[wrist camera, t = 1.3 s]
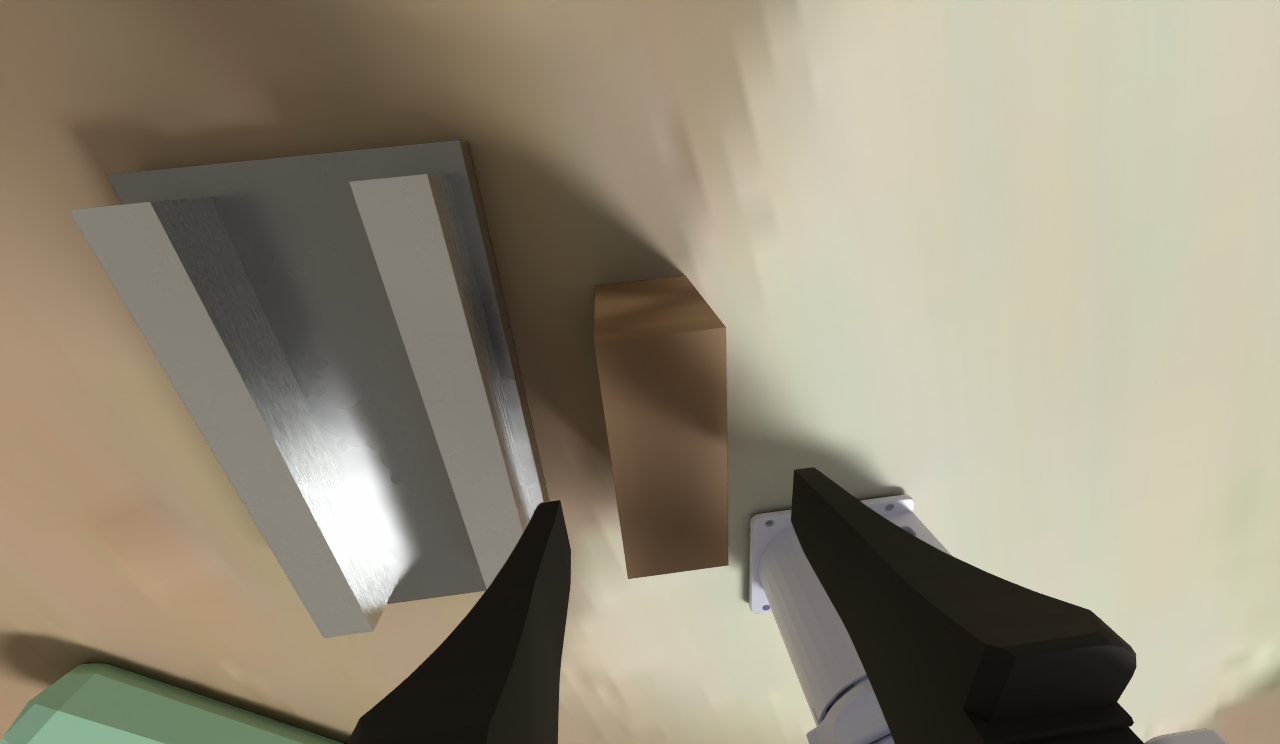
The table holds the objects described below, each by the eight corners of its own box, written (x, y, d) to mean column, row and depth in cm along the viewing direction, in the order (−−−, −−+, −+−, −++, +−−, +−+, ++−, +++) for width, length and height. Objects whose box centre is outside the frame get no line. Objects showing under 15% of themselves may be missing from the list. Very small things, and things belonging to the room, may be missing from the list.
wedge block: (685, 275, 20) (725, 327, 14) (694, 460, 24) (728, 565, 18) (595, 285, 20) (593, 342, 14) (620, 469, 24) (628, 578, 18)
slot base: (468, 141, 17) (437, 136, 14) (563, 563, 26) (558, 619, 23) (138, 173, 17) (25, 176, 13) (354, 591, 26) (319, 652, 23)
